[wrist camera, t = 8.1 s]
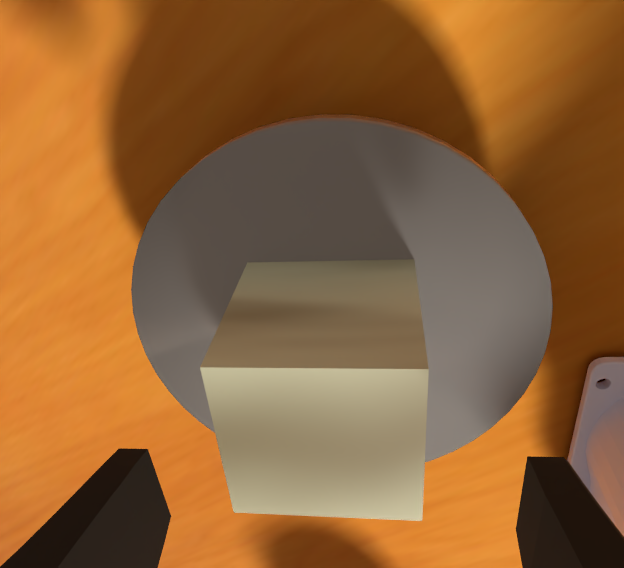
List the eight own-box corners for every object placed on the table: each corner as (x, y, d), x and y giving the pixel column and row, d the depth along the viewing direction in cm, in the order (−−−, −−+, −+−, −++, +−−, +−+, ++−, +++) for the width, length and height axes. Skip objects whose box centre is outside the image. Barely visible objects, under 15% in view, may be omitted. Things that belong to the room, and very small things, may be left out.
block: (411, 389, 16) (422, 520, 12) (267, 387, 17) (233, 512, 13) (414, 259, 14) (429, 369, 10) (247, 262, 14) (199, 367, 11)
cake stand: (500, 392, 21) (525, 479, 17) (210, 390, 23) (179, 468, 19) (538, 74, 15) (589, 105, 11) (142, 102, 17) (77, 136, 13)
